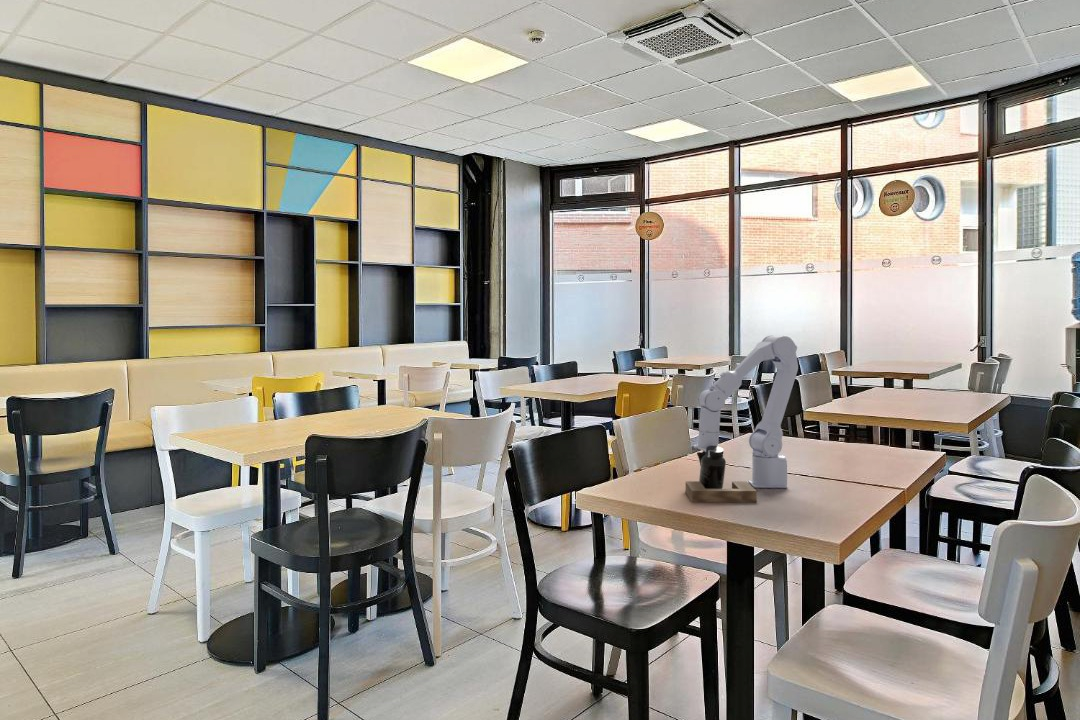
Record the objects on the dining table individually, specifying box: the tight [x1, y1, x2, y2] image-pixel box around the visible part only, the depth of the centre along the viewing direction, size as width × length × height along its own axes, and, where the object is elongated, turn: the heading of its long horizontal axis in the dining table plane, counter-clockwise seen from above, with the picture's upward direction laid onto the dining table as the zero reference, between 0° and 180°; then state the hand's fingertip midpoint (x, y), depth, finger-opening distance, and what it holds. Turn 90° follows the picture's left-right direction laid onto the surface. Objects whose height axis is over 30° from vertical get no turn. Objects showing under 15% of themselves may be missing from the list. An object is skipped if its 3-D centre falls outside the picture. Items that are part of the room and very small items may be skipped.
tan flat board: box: [685, 480, 758, 503], centre depth 192 cm, size 17×12×3 cm
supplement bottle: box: [698, 445, 727, 489], centre depth 199 cm, size 7×7×12 cm
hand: (705, 477), depth 203 cm, fingers closed, pressing on supplement bottle
